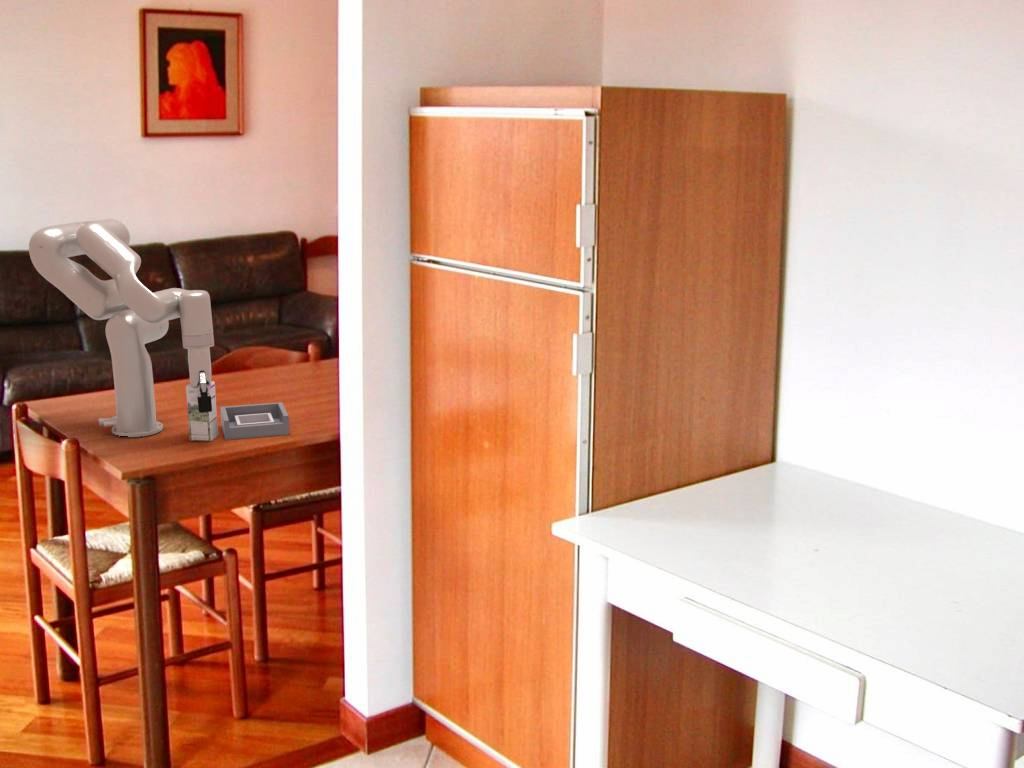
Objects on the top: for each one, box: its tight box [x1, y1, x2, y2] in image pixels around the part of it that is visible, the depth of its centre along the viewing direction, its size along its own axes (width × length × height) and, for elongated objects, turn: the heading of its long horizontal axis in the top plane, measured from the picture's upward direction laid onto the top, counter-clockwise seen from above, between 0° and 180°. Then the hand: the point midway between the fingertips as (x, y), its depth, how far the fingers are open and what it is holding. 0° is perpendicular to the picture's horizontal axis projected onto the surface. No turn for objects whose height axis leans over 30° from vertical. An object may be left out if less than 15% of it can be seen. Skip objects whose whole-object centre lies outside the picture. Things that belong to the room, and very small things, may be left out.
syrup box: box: [185, 380, 219, 442], centre depth 296 cm, size 6×6×14 cm
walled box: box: [219, 401, 290, 441], centre depth 305 cm, size 16×14×5 cm
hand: (204, 407), depth 296 cm, fingers open, 9 cm apart
